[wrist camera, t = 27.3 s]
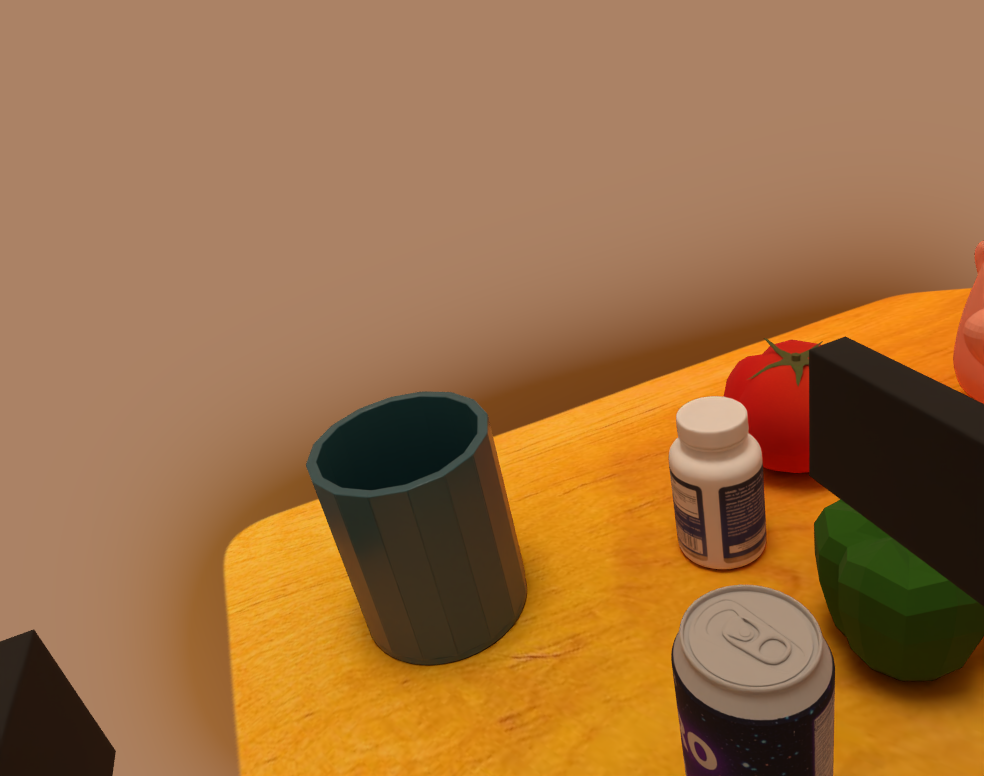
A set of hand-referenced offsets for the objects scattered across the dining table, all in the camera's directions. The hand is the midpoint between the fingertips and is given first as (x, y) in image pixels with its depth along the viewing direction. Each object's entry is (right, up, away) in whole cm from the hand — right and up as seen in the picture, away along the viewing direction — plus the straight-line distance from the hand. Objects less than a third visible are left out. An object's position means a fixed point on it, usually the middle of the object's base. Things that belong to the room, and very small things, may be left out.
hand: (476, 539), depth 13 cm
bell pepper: (+22, -11, +27) cm, 37 cm away
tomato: (+22, -2, +42) cm, 48 cm away
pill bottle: (+15, -8, +36) cm, 40 cm away
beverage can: (+12, -17, +21) cm, 29 cm away
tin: (-3, -11, +37) cm, 38 cm away
